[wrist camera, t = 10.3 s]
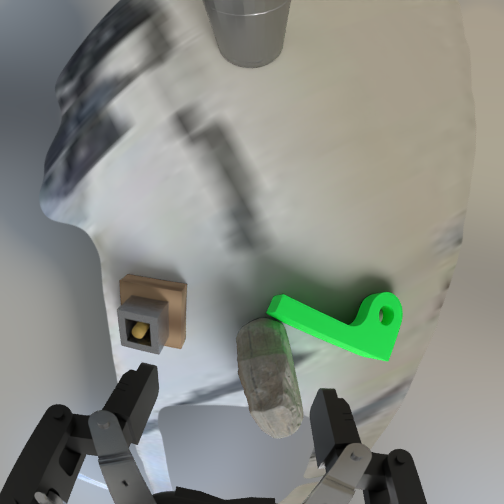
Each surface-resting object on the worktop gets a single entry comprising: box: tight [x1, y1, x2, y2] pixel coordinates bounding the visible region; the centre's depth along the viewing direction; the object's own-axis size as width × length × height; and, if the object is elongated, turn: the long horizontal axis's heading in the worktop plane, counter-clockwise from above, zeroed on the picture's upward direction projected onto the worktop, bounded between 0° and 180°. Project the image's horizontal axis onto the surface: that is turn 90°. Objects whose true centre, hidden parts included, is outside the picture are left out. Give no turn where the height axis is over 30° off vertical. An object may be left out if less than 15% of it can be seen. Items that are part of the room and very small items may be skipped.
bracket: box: [266, 292, 403, 361], centre depth 39 cm, size 20×10×7 cm, turn 62°
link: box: [117, 295, 169, 354], centre depth 36 cm, size 6×6×5 cm
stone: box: [236, 318, 303, 438], centre depth 36 cm, size 19×7×15 cm, turn 15°
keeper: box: [119, 274, 187, 349], centre depth 37 cm, size 10×10×8 cm
